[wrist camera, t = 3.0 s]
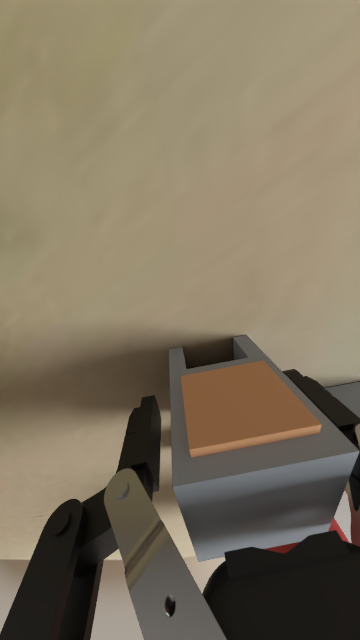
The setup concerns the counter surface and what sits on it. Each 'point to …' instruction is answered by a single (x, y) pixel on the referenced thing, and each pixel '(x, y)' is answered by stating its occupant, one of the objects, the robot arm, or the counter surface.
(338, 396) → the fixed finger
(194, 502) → the grey block
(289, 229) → the counter surface
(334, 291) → the counter surface
